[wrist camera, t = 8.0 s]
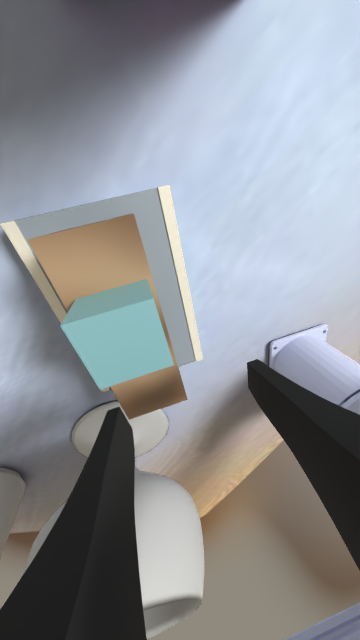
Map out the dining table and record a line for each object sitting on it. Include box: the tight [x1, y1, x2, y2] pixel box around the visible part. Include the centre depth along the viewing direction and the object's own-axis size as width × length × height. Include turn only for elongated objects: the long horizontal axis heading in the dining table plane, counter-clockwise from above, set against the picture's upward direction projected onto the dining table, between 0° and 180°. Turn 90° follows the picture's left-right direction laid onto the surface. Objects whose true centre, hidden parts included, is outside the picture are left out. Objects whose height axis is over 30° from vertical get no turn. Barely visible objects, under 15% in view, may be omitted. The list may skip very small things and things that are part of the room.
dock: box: [1, 185, 203, 392], centre depth 18 cm, size 16×11×2 cm
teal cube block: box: [60, 279, 174, 390], centre depth 11 cm, size 4×4×3 cm
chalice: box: [24, 401, 204, 639], centre depth 20 cm, size 14×14×15 cm
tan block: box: [27, 214, 187, 420], centre depth 15 cm, size 14×5×5 cm, turn 12°
